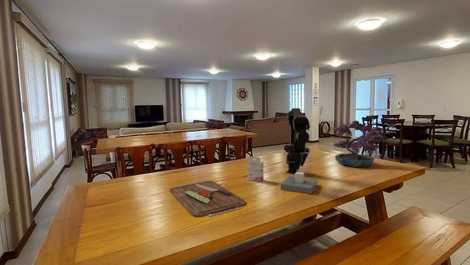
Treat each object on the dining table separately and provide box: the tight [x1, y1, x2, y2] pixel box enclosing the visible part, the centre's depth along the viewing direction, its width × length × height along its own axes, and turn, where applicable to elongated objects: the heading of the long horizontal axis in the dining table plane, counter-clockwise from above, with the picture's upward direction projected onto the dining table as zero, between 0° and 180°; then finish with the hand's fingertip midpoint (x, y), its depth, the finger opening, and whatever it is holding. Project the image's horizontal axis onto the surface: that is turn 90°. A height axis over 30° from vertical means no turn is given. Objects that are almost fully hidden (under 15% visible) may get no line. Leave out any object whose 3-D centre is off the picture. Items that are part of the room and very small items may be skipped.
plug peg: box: [294, 171, 305, 184], centre depth 139 cm, size 4×4×8 cm
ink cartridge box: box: [247, 156, 265, 183], centre depth 153 cm, size 9×5×15 cm, turn 62°
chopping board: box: [168, 180, 247, 218], centre depth 129 cm, size 45×27×3 cm, turn 30°
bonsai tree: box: [333, 120, 388, 168], centre depth 183 cm, size 35×27×33 cm
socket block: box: [280, 175, 318, 195], centre depth 140 cm, size 16×16×3 cm
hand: (299, 167), depth 139 cm, fingers open, 8 cm apart
